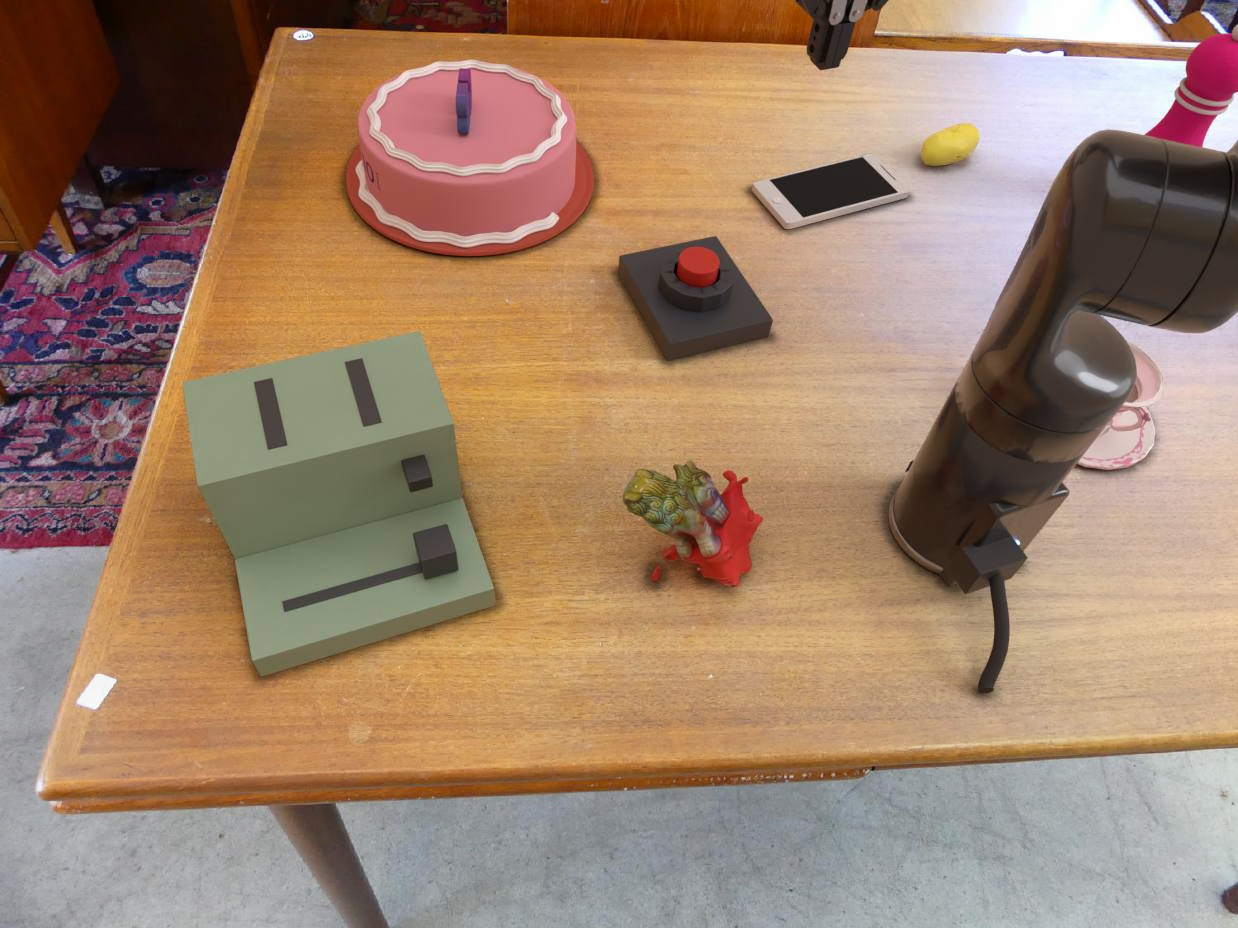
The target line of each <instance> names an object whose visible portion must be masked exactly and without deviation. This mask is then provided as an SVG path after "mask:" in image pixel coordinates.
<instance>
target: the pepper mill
mask: <svg viewBox="0 0 1238 928" xmlns="http://www.w3.org/2000/svg"><path fill="white" fill-rule="evenodd" d="M1185 74H1186V76H1184V77H1183V78H1182V79H1181V80H1180V82H1179V84H1178V86H1177V87H1176V89H1175V90H1174V98H1175V99H1174V100H1173V103H1172V105H1171V106H1170V108H1169V110H1168V111H1167V112H1166V113H1165V115H1164V116H1163V118H1162V119H1160V121H1159V122H1158V123H1157V124H1155V125H1154V126H1153V127H1152V128H1151V129H1150V130H1148V131H1147V132H1145V133H1144V134H1143V135H1146V136H1151V137H1156V138H1161V139H1165V140H1170V141H1175V142H1180V143H1184V144H1189V145H1194V146H1199V147H1203V146H1204V142H1205V138H1206V136H1207V133H1208V131H1209V129H1210V127H1211V126H1212V124H1213V122H1214V121H1215V120H1216V118H1217V117H1218V116H1219V115H1221V114H1224V113H1225V112H1227V110H1228V108H1229V105H1230V104H1231V103H1233V101H1234V98H1235V94H1236V93H1238V23H1237V24H1236V25H1234V27H1233V29H1232V31H1231V33H1229V32H1227V33H1218V34H1217V33H1216V34H1214V35H1211V36H1209V37H1207V38H1205V39H1203V40H1202V41H1200V43H1198V44H1197V46H1195V48H1194V49H1193V50H1192V52H1190V54H1189V56H1188V58H1187V60H1186V63H1185ZM1203 148H1204V147H1203Z"/></svg>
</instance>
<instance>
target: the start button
mask: <svg viewBox="0 0 1238 928" xmlns="http://www.w3.org/2000/svg"><path fill="white" fill-rule="evenodd" d="M719 264H720V261H719V258H718V256H717V255H716V254H715V253H714V252H713V251H711V250H709V249H707V248H704V247H690V248H687V249H685V250H684V251H682V252H681V254H680V256H679V261H678V267H677V277H678V279H679V280H680V281H681V282H682V283H684V284H686V285H688V286H690V287H697V288H704V287H708V286H711V285H712V284H714V282H715V281H716V278H717V274H718V269H719Z"/></svg>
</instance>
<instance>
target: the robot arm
mask: <svg viewBox="0 0 1238 928" xmlns="http://www.w3.org/2000/svg"><path fill="white" fill-rule="evenodd" d="M889 1H890V0H794V2H795V3H796V4H797V5H798V6H799V7H800V8H801V9H802V10H803V11H804V12H805V13H806V14H807V15H808V16H809V17H810V18H811V19H813V20H812V24H811V28H810V32H809V37H808V41H807V44H806V49H805V50H806V55H807V56H808V57H809V60H810V62H811V63H812V64H813V65H814V66H815V67H816V68H817V69H818V70H819V71H825V70H832V69H838V68H839V67H840V65H841V62H842V60H844V59H845V57H846V55H847V54H848V52H849V48H850V43H851V40H852V36H853V33H854V30H855V26H856V23H857V22H858V21H860V20H861V18H862V17H863V15H864V13H865V12H867V11H869V10H871V9H872V10H873V11H875V12H877V11H880V10H881V9H883V8H884V7H885V5H886V4H887V3H888V2H889ZM1053 180H1054V181H1053V182H1052V184H1051V186H1050V187H1049V190H1048V193H1047V195H1046V197H1045V198H1044V200H1043V203H1042V205H1041V208H1040V210H1039V212H1038V214H1037V216H1036V219H1035V220H1034V223H1033V226H1032V227H1031V230H1030V232H1029V234H1028V237H1027V239H1026V241H1025V243H1024V246H1023V248H1022V250H1021V252H1020V254H1019V256H1018V259H1017V261H1016V262H1015V265H1014V267H1013V268H1012V271H1011V273H1010V275H1009V276H1008V278H1007V280H1006V282H1005V284H1004V286H1003V288H1002V290H1001V292H1000V294H999V296H998V299H997V300H996V303H995V305H994V308H993V310H992V311H991V314H990V316H989V319H988V321H987V322H986V323H987V324H986V325H985V327H984V329H983V331H982V332H981V333H982V334H981V335H980V337H979V339H978V341H977V342H976V345H975V347H974V349H973V350H972V352H971V353H970V356H969V358H968V360H967V362H966V363H965V365H964V367H963V369H962V371H961V373H960V375H959V376H958V378H957V380H956V382H955V383H954V386H953V387H952V389H951V391H950V393H949V394H948V397H947V399H946V400H945V402H944V404H943V406H942V407H941V409H940V412H939V413H938V415H937V417H936V418H935V421H934V423H932V426H931V427H930V429H929V431H928V434H927V435H926V437H925V439H924V440H923V443H922V445H921V446H920V448H919V450H918V452H917V453H916V455H915V458H914V459H913V460H911V461H910V462H909V464H908V465H907V467H906V469H905V472H904V473H906V475H905V477H904V478H903V480H902V482H901V484H900V485H899V486H898V488H897V489H896V491H895V493H894V495H893V496H892V498H891V500H890V502H889V506H888V524H889V527H890V530H891V533H892V535H893V537H894V539H895V541H896V542H897V544H898V545H899V547H900V548H901V549H902V550H903V551H904V552H905V554H907V555H908V556H909V557H910V558H911V559H912V560H913V561H914V562H916V563H917V564H918V565H920V566H922V567H923V568H925V569H927V570H929V571H931V572H933V573H936V574H938V575H939V576H940V578H942V579H943V581H944V583H945V584H946V585H947V586H949V587H952V586H955V585H958V586H959V588H960V589H961V591H962V592H963V594H964V595H968V594H972V593H973V592H977V591H980V590H982V589H986V588H989V592H990V600H991V605H992V613H993V614H992V615H993V641H992V647H991V651H990V654H989V657H988V659H987V662H986V664H985V666H984V668H983V670H982V673H981V674H980V677H979V679H978V683H977V691H978V692H979V693H980V694H990V693H993V692H994V687H995V684H996V683H997V680H998V677H999V675H1000V673H1001V671H1002V670H1003V669H1002V668H1003V666H1004V664H1005V661H1006V658H1007V655H1008V651H1009V644H1010V631H1011V630H1010V628H1011V627H1010V626H1011V625H1010V613H1009V605H1008V599H1007V592H1006V591H1007V590H1006V584H1005V581H1009V580H1010V579H1012V578H1014V576H1015V574H1016V573H1017V572H1018V571H1019V569H1020V568H1021V567H1022V566H1023V565H1024V563H1025V562H1026V561H1027V560H1028V556H1027V555H1026V553H1025V551H1026V549H1027V548H1028V547H1029V546H1030V545H1031V543H1032V542H1033V540H1035V538H1036V537H1037V536H1038V534H1040V532H1041V530H1043V528H1044V527H1045V526H1046V524H1047V523H1048V522H1049V520H1050V519H1051V518H1052V517H1053V515H1055V513H1056V512H1057V510H1058V509H1059V508H1060V507H1061V505H1062V504H1063V503H1064V502H1065V501H1066V499H1067V498H1068V497H1069V495H1070V490H1069V488H1068V487H1067V485H1066V484H1065V483H1064V481H1065V480H1066V478H1067V477H1068V476H1069V475H1070V473H1071V472H1072V471H1073V469H1074V468H1075V467H1076V466H1077V465H1078V464H1077V463H1078V462H1079V460H1080V459H1081V458H1082V456H1083V455H1084V454H1085V452H1086V451H1087V450H1088V449H1089V447H1090V446H1091V445H1092V444H1093V442H1094V441H1095V440H1096V438H1097V437H1098V436H1099V435H1100V433H1101V432H1102V431H1103V429H1104V428H1105V427H1106V426H1107V424H1108V423H1109V422H1110V420H1111V419H1112V418H1113V417H1114V416H1115V414H1116V413H1117V412H1118V411H1119V409H1120V408H1121V407H1122V405H1123V404H1124V403H1125V401H1126V400H1127V399H1128V397H1129V395H1130V394H1131V392H1132V390H1133V387H1134V384H1135V381H1136V377H1137V367H1136V361H1135V357H1134V355H1133V352H1132V350H1131V348H1130V346H1129V344H1128V343H1127V341H1128V340H1127V339H1126V338H1125V337H1124V336H1123V334H1122V333H1121V332H1120V331H1119V330H1118V329H1117V328H1116V327H1115V326H1114V325H1113V324H1112V323H1111V322H1109V320H1107V319H1106V318H1111V319H1116V320H1120V321H1124V322H1129V323H1133V324H1138V325H1141V326H1147V327H1150V328H1156V329H1159V330H1166V331H1170V332H1175V333H1182V334H1205V333H1207V332H1208V333H1209V332H1210V331H1212V330H1215V329H1216V328H1219V327H1221V326H1222V325H1225V323H1228V321H1230V320H1231V319H1232V318H1233V317H1234V316H1235V315H1237V313H1238V139H1237V140H1236V142H1235V143H1234V144H1233V145H1232V147H1231V148H1230V149H1228V151H1222V150H1217V149H1212V148H1207V147H1199V146H1194V145H1189V144H1184V143H1180V142H1175V141H1170V140H1165V139H1161V138H1156V137H1151V136H1146V135H1144V134H1141V133H1136V132H1131V131H1127V130H1126V131H1125V130H1120V129H1103V130H1099V131H1096V132H1093V133H1092V134H1090V135H1089V136H1087V137H1086V138H1085V139H1084V140H1082V141H1081V142H1080V143H1079V144H1078V145H1077V146H1075V149H1073V151H1072V152H1071V153H1070V154H1069V156H1068V157H1067V159H1066V160H1065V161H1064V163H1063V164H1062V167H1061V168H1060V169H1059V171H1058V173H1057V175H1056V176H1055V178H1054V179H1053ZM1105 317H1106V318H1105ZM1126 340H1127V341H1126Z"/></svg>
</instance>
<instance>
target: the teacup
mask: <svg viewBox="0 0 1238 928" xmlns="http://www.w3.org/2000/svg"><path fill="white" fill-rule="evenodd" d="M1125 340H1126V341H1127V343H1128V344H1129V346H1130V348H1131V350H1132V352H1133V355H1134V357H1135V361H1136V367H1137V377H1136V381H1135V384H1134V387H1133V390H1132V392H1131V394H1130V395H1129V397H1128V399H1127V400H1126V401H1125V403H1124V404H1123V405H1122V407H1121V408H1120V409H1119V411H1118V412H1117V413H1116V414H1115V416H1114V417H1113V418H1112V419H1111V420H1110V422H1109V423H1108V424H1107V426H1106V427H1105V428H1104V429H1103V431H1102V432H1101V433H1100V435H1099V436H1098V437H1097V438H1096V440H1095V441H1094V442H1093V444H1092V445H1091V446H1090V447H1089V449H1088V450H1087V451H1086V452H1085V454H1084V455H1083V456H1082V458H1081V459H1080V460H1079V462H1078V463H1077V464H1076V465H1078V466H1082V467H1084V468H1092V469H1099V470H1106V471H1110V470H1117V469H1124V468H1125V469H1126V468H1129V467H1132V466H1134V465H1135V464H1137V463H1139V462H1141V461H1143V460H1145V458H1146V457H1147V455H1148V453H1150V451H1151V450H1152V448H1153V446H1154V445H1155V437H1156V426H1155V423H1154V421H1153V417H1152V415H1151V412H1150V411H1149V409H1148V408H1147V407H1149V406H1152V405H1154V404H1156V403H1158V401H1159V400H1160V399H1161V398H1162V397H1163V395H1164V392H1165V388H1166V387H1165V380H1164V376H1163V374H1162V372H1161V370H1160V367H1158V365H1157V363H1156V362H1155V361H1154V360H1153V359H1152V358H1151V357H1150V356H1149V354H1147V353H1146V352H1145V351H1144V350H1142V349H1141V348H1140V347H1138V345H1135V344H1134V343H1133V342H1131V341H1129V340H1128V339H1125Z"/></svg>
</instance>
